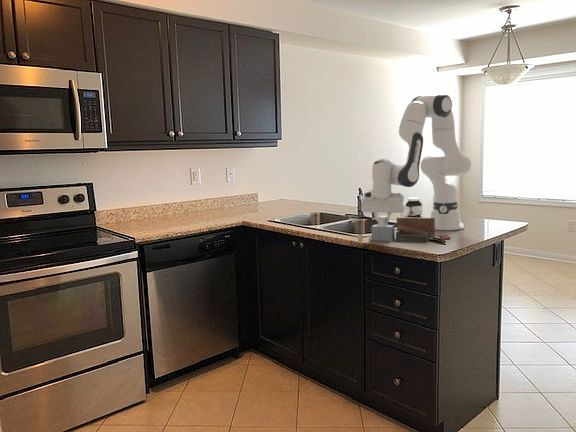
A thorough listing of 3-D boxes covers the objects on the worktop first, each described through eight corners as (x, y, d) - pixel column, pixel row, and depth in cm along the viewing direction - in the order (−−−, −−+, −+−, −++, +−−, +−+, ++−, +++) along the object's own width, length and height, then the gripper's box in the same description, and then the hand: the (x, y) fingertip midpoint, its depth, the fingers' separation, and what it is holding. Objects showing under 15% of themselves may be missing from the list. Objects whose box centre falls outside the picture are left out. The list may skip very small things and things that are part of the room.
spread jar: (424, 216, 293) (423, 197, 292) (416, 218, 285) (416, 199, 283) (406, 215, 301) (405, 197, 299) (398, 217, 292) (398, 199, 290)
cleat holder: (398, 236, 233) (397, 217, 232) (435, 238, 225) (434, 218, 223) (392, 241, 225) (391, 220, 223) (430, 242, 216) (430, 221, 214)
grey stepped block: (375, 238, 233) (374, 215, 232) (395, 239, 229) (394, 215, 227) (371, 240, 228) (370, 217, 227) (391, 241, 223) (391, 217, 222)
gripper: (405, 192, 223) (405, 221, 225) (364, 192, 233) (365, 219, 235) (401, 193, 217) (402, 223, 219) (359, 193, 227) (360, 221, 229)
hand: (382, 221), depth 227 cm, fingers closed on grey stepped block, 3 cm apart
